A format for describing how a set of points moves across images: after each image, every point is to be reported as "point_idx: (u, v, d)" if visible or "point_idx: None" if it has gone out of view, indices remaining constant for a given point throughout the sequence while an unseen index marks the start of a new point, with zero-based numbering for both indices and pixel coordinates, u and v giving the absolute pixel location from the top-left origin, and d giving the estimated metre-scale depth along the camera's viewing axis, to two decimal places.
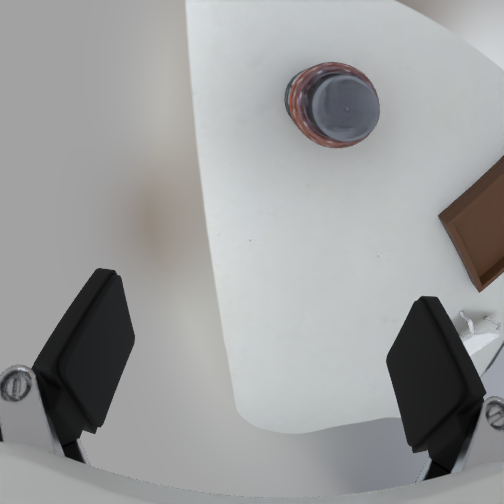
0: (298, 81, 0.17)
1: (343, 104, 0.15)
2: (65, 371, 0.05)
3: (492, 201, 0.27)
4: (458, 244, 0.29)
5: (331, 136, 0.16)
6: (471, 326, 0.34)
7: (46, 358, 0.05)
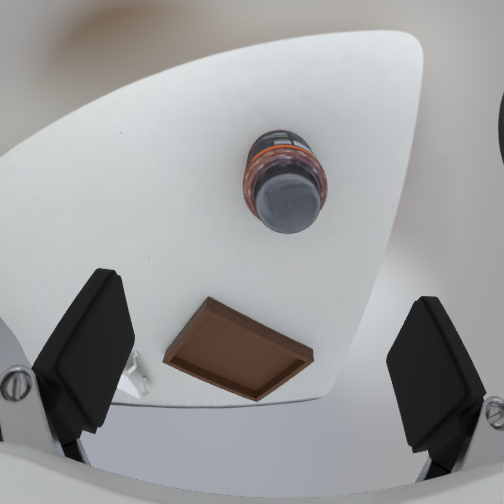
0: (301, 152, 0.19)
1: (291, 201, 0.18)
2: (65, 371, 0.05)
3: (243, 340, 0.40)
4: (193, 325, 0.37)
5: (258, 197, 0.18)
6: (132, 370, 0.41)
7: (46, 358, 0.05)
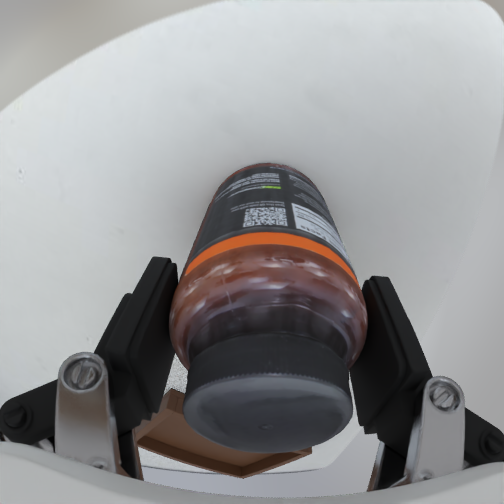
0: (312, 264, 0.07)
1: (275, 422, 0.06)
2: (137, 355, 0.06)
3: None
4: (154, 420, 0.25)
5: (186, 410, 0.06)
6: None
7: (118, 343, 0.06)
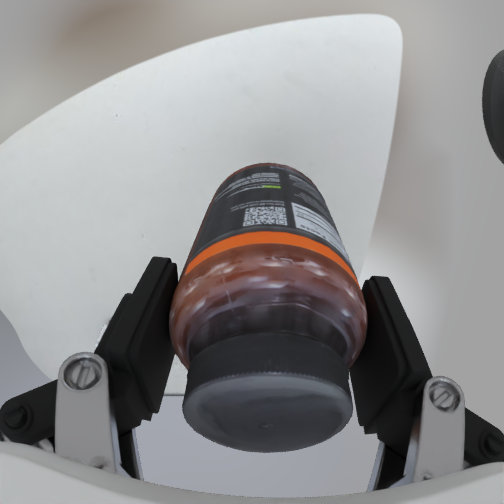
0: (312, 263, 0.07)
1: (275, 421, 0.06)
2: (137, 355, 0.06)
3: None
4: None
5: (186, 409, 0.06)
6: None
7: (118, 343, 0.06)
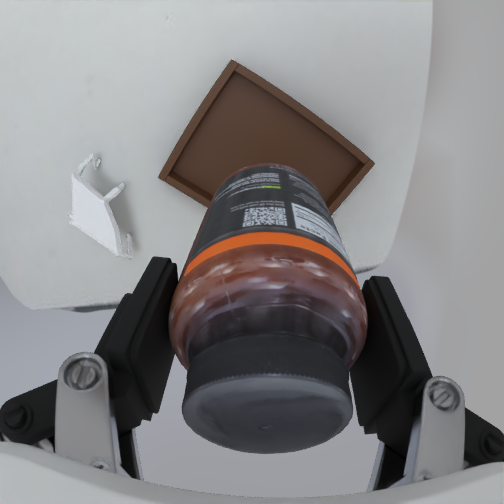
0: (312, 264, 0.07)
1: (275, 422, 0.06)
2: (137, 355, 0.06)
3: (277, 130, 0.28)
4: (211, 91, 0.25)
5: (185, 411, 0.06)
6: (112, 196, 0.29)
7: (118, 343, 0.06)
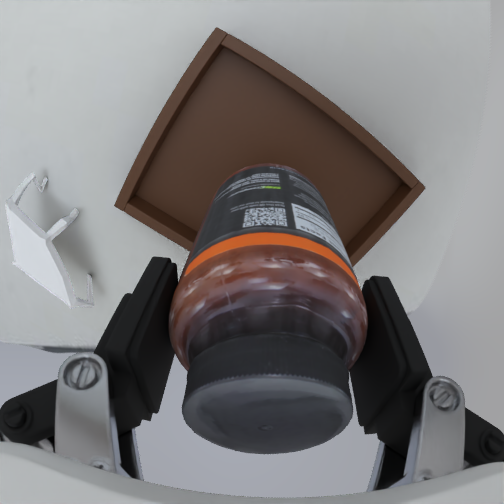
0: (312, 264, 0.07)
1: (275, 423, 0.06)
2: (137, 355, 0.06)
3: (286, 135, 0.19)
4: (185, 76, 0.15)
5: (185, 411, 0.06)
6: (57, 231, 0.20)
7: (117, 343, 0.06)
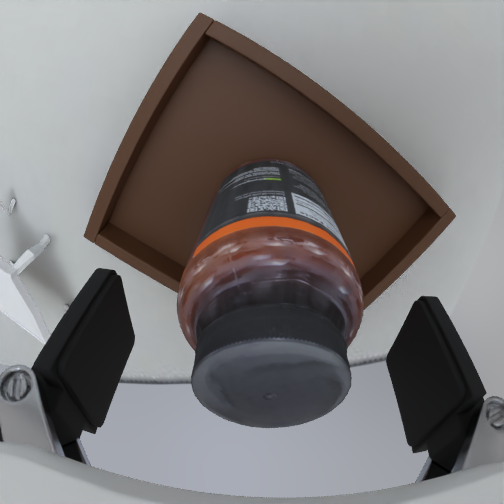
0: (311, 243, 0.08)
1: (278, 391, 0.07)
2: (65, 371, 0.05)
3: (289, 150, 0.15)
4: (159, 76, 0.12)
5: (195, 380, 0.07)
6: (24, 264, 0.16)
7: (46, 358, 0.05)
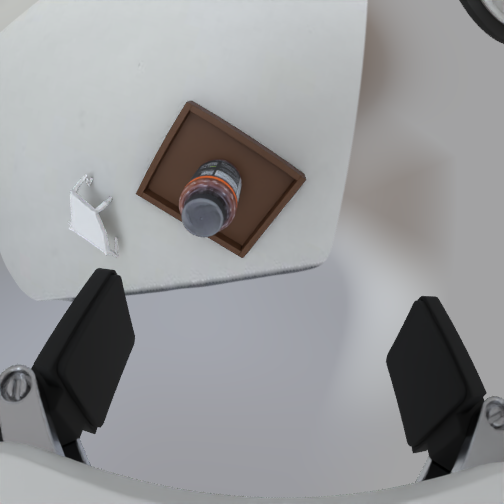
0: (214, 181, 0.29)
1: (203, 216, 0.28)
2: (65, 371, 0.05)
3: (225, 155, 0.36)
4: (172, 127, 0.33)
5: (182, 213, 0.28)
6: (101, 208, 0.37)
7: (46, 358, 0.05)
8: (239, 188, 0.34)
